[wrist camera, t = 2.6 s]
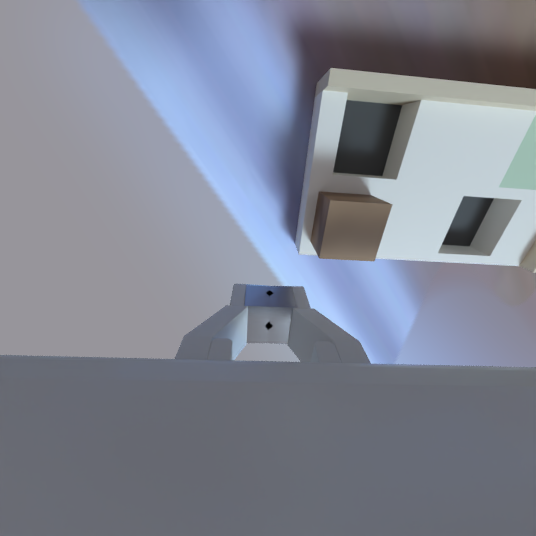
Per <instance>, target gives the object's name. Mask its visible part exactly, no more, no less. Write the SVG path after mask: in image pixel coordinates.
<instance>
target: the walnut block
mask: <svg viewBox="0 0 536 536" xmlns="http://www.w3.org/2000/svg"><path fill="white" fill-rule="evenodd" d="M392 205H393V204H390V203H388V202H386V201H384V200H381V199H379V198H377V197H374V196H372V195H364V194H350V193H336V192H321V191H319V193H318V199H317V205H316V211H315V217H314V223H313V229H312V235H311V241H310V242H311V244H312V246H313V248H314V249H315V251H316V253H317V255H318V257H319V258H322V259H341V260H360V261H375V258H376V255H377V252H378V249H379V245H380V242H381V239H382V236H383V233H384V230H385V227H386V223H387V220H388V217H389V214H390V211H391V208H392Z"/></svg>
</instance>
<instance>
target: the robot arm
mask: <svg viewBox="0 0 536 536" xmlns="http://www.w3.org/2000/svg"><path fill="white" fill-rule="evenodd" d="M247 343H276V344H288V346H289V347H290V349H291V350H292V351H293V352H294V354H295V355H296V356H297V357H298V358H299V360H300V361H301V362H276V361H275V362H273V361H234V359H235V358H236V357H237V356H238V354H239V353H240V352H241V351H242V349H243V348H244V347H245V346H246V344H247ZM0 536H536V367H493V366H449V365H448V366H447V365H446V366H445V365H406V364H371V363H370V361H369V359H368V357H367V355H366V353H365V351H364V349H363V347H362V345H361V343H360V342H359V341H358V340H357V339H355V338H354V337H352V336H351V335H350V334H348V333H347V332H346V331H344V330H343V329H341V328H340V327H339V326H337V325H336V324H334V323H333V322H332V321H330V320H329V319H328V318H326V317H325V316H323V315H322V314H321V313H319V312H318V311H316V310H315V309H311V308H310V305H309V302H308V299H307V296H306V293H305V290H304V287H303V286H265V285H250V284H234V286H233V291H232V296H231V302H230V306H228V305H227V306H225V307H224V308H222V309H221V310H219V311H218V312H217V313H215V314H214V315H213V316H211V317H210V318H209V319H207V320H206V321H204V322H203V323H201V324H200V325H199V326H197V327H196V328H195V329H193V330H192V331H190V332H189V333H188V334H186V335H185V336H184V337H183V340H182V342H181V345H180V347H179V350H178V352H177V354H176V357H175V359H148V358H105V357H61V356H19V355H17V356H16V355H0Z"/></svg>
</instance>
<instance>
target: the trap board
mask: <svg viewBox="0 0 536 536" xmlns="http://www.w3.org/2000/svg"><path fill="white" fill-rule="evenodd" d="M319 191H321V192H336V193H350V194H364V195H372V196H374V197H377V198H379V199H381V200H384V201H386V202H388V203H390V204H393V205H392V208H391V211H390V214H389V217H388V220H387V223H386V227H385V230H384V233H383V236H382V239H381V242H380V245H379V249H378V252H377V255H376V259H395V260H414V261H433V262H453V263H471V264H490V265H509V266H520V267H522V268H524V269H526V270H529V271H531V272H533V273H536V89H530V88H520V87H510V86H501V85H491V84H481V83H472V82H462V81H452V80H443V79H433V78H423V77H414V76H404V75H394V74H385V73H375V72H365V71H356V70H346V69H336V68H330V69H329V70H328V71H327V73H326V74H325V75H324V76H323V77H322V78H321V79H320V80H319V81H318V82H317V84H316V92H315V99H314V107H313V114H312V122H311V129H310V136H309V144H308V151H307V159H306V166H305V173H304V181H303V188H302V196H301V203H300V211H299V218H298V225H297V233H296V240H295V245H296V248H297V251H298V253H299V254H300V255H317V253H316V251H315V249H314V248H313V246H312V244H311V242H310V241H311V235H312V229H313V223H314V217H315V211H316V205H317V199H318V193H319Z"/></svg>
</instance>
